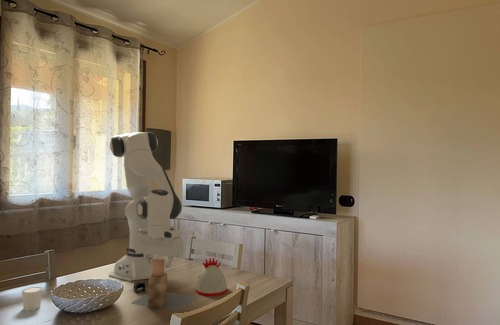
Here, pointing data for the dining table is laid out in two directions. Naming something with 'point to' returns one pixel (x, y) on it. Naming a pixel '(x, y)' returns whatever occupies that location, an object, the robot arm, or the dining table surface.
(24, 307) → the white cylinder
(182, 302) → the mat
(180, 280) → the dining table surface
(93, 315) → the dining table surface
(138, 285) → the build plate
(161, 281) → the block upper
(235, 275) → the dining table surface
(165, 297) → the block lower
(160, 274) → the drum
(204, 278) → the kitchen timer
